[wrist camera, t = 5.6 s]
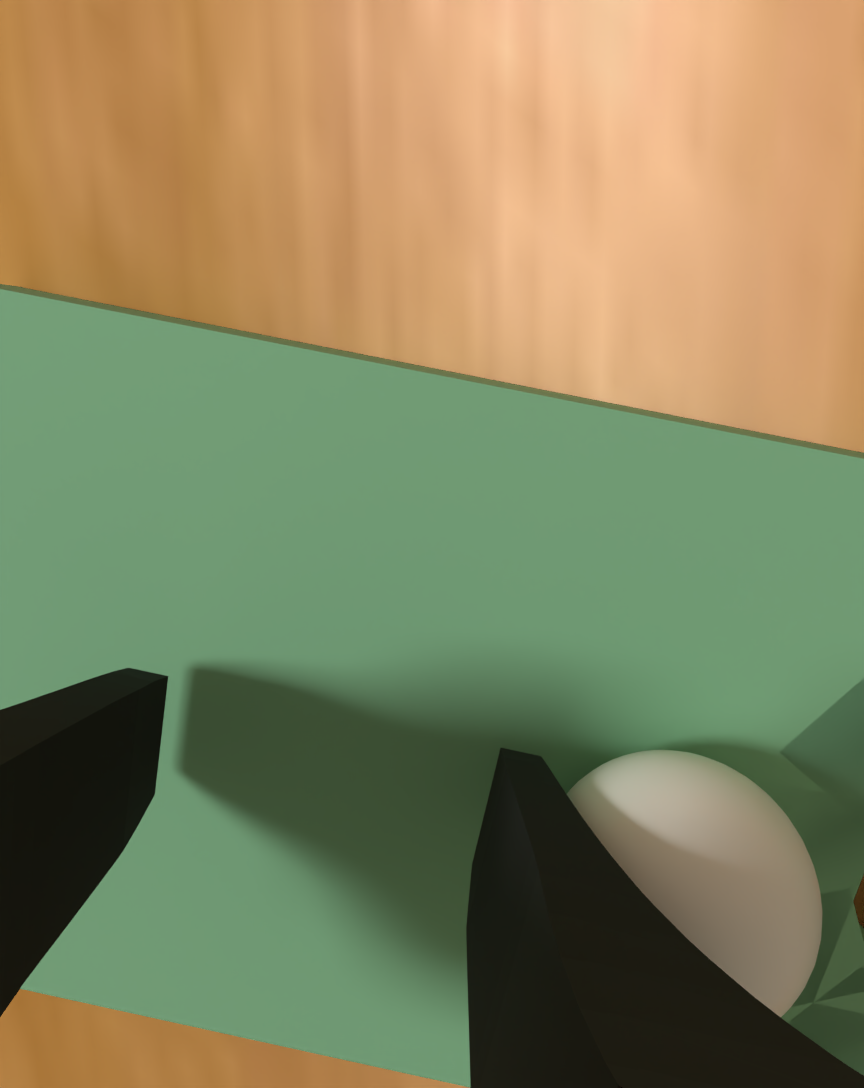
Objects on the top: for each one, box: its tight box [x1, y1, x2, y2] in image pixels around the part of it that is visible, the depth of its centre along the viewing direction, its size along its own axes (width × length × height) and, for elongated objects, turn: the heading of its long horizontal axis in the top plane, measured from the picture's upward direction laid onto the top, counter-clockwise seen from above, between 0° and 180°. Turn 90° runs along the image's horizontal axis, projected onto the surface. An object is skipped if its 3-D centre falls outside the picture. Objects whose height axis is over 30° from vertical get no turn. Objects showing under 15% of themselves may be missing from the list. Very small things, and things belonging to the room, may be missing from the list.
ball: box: [567, 750, 822, 1017], centre depth 10 cm, size 4×4×4 cm
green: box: [0, 284, 864, 1087], centre depth 11 cm, size 12×24×7 cm, turn 79°
